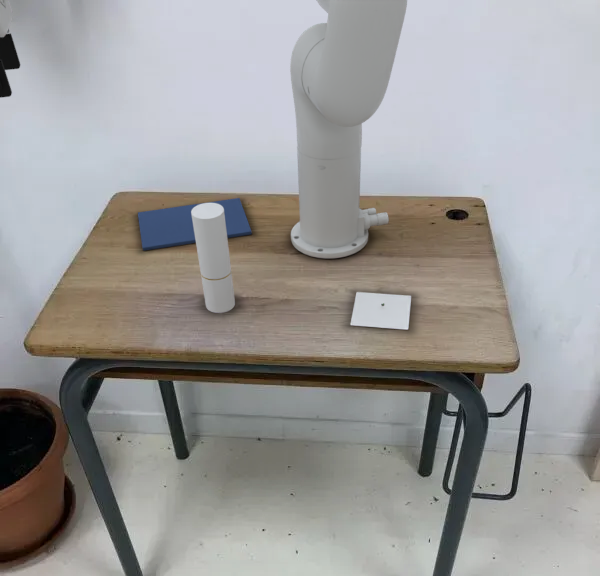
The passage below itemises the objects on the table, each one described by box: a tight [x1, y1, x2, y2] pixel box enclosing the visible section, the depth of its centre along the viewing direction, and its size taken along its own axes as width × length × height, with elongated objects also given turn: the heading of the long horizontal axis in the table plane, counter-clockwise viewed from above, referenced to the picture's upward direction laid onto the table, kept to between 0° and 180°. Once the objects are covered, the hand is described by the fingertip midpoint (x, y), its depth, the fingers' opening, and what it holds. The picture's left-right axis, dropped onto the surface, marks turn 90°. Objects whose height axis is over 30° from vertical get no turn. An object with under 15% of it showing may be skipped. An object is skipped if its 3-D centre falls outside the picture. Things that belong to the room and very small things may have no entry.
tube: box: [191, 202, 236, 314], centre depth 96 cm, size 4×4×15 cm
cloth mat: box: [137, 197, 253, 251], centre depth 118 cm, size 18×12×1 cm, turn 103°
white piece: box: [350, 291, 412, 331], centre depth 98 cm, size 8×8×1 cm
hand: (3, 82), depth 85 cm, fingers open, 9 cm apart
